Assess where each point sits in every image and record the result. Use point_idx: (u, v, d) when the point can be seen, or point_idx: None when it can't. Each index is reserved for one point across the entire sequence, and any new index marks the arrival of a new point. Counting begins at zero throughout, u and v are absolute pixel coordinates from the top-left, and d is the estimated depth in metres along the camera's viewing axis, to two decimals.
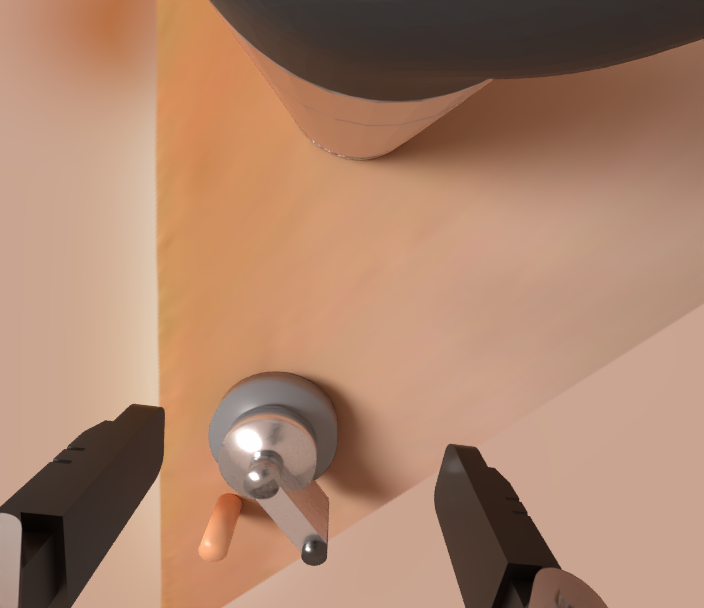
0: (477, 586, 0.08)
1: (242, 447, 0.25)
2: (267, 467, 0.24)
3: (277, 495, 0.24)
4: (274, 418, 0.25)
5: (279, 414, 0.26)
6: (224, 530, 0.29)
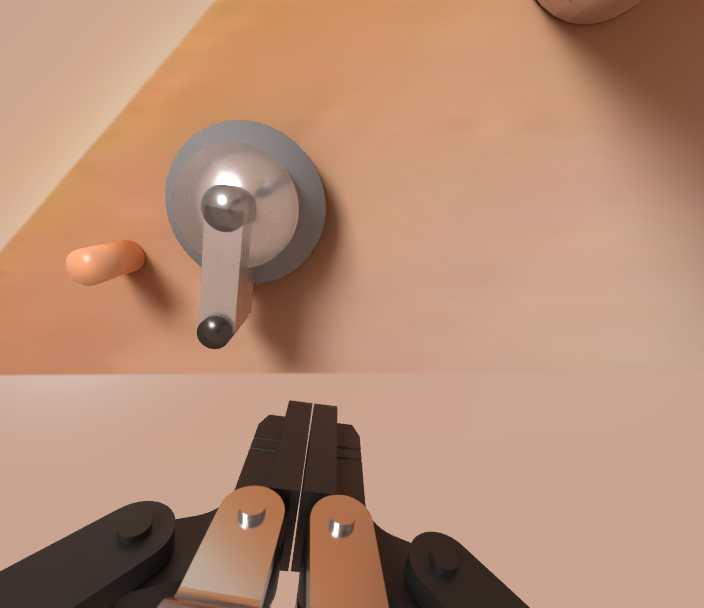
0: (298, 520, 0.08)
1: (224, 168, 0.20)
2: (245, 196, 0.19)
3: (231, 234, 0.19)
4: (281, 167, 0.21)
5: (286, 171, 0.21)
6: (114, 260, 0.22)
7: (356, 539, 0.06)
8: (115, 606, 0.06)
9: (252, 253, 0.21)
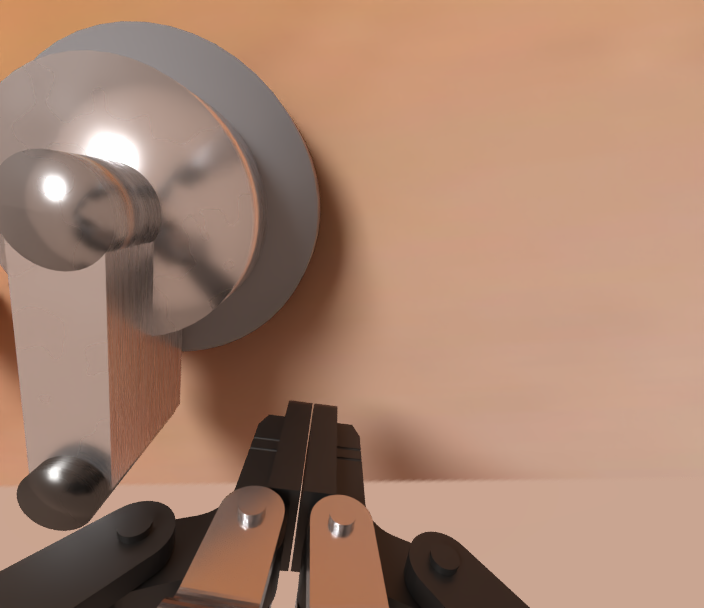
0: (298, 520, 0.08)
1: (79, 117, 0.09)
2: (110, 181, 0.07)
3: (79, 276, 0.08)
4: (215, 117, 0.09)
5: (229, 129, 0.10)
6: None
7: (356, 539, 0.06)
8: (115, 606, 0.06)
9: (159, 307, 0.10)
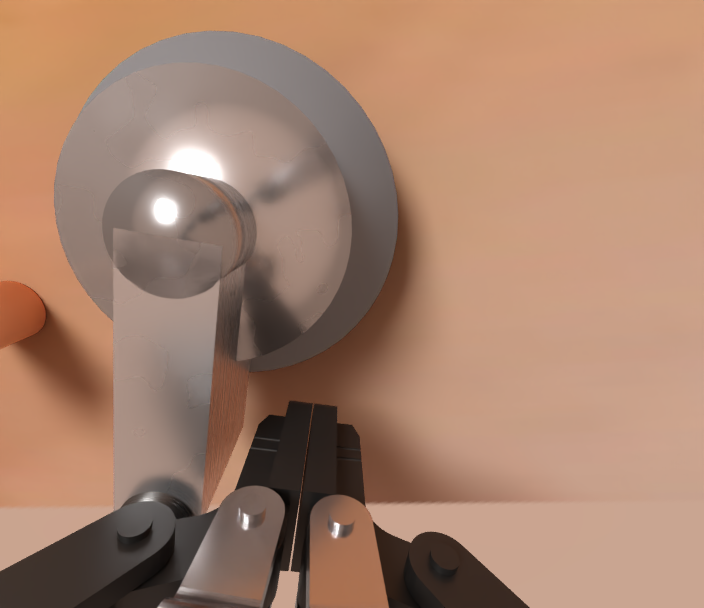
0: (298, 520, 0.08)
1: (179, 132, 0.08)
2: (226, 203, 0.07)
3: (189, 304, 0.07)
4: None
5: None
6: None
7: (356, 539, 0.06)
8: (115, 606, 0.06)
9: (246, 331, 0.09)
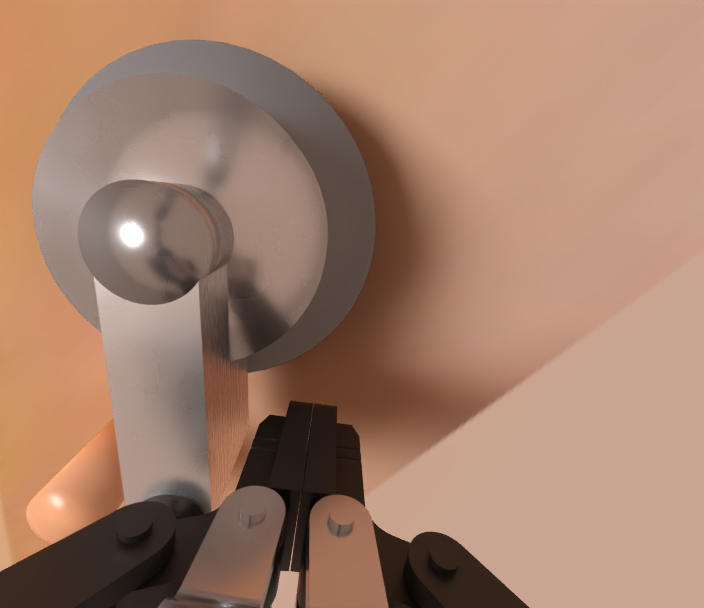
0: None
1: (145, 143, 0.08)
2: (196, 206, 0.07)
3: (172, 308, 0.07)
4: None
5: None
6: (104, 468, 0.12)
7: (356, 539, 0.06)
8: (115, 606, 0.06)
9: (236, 330, 0.10)
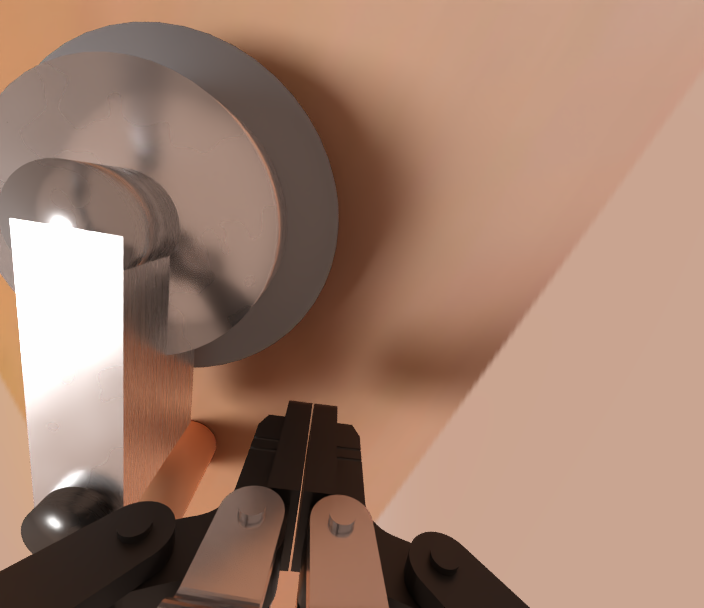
0: (298, 520, 0.08)
1: (93, 123, 0.08)
2: (129, 193, 0.07)
3: (94, 295, 0.07)
4: (238, 124, 0.09)
5: (252, 136, 0.09)
6: (155, 483, 0.12)
7: (356, 539, 0.06)
8: (115, 606, 0.06)
9: (174, 324, 0.09)
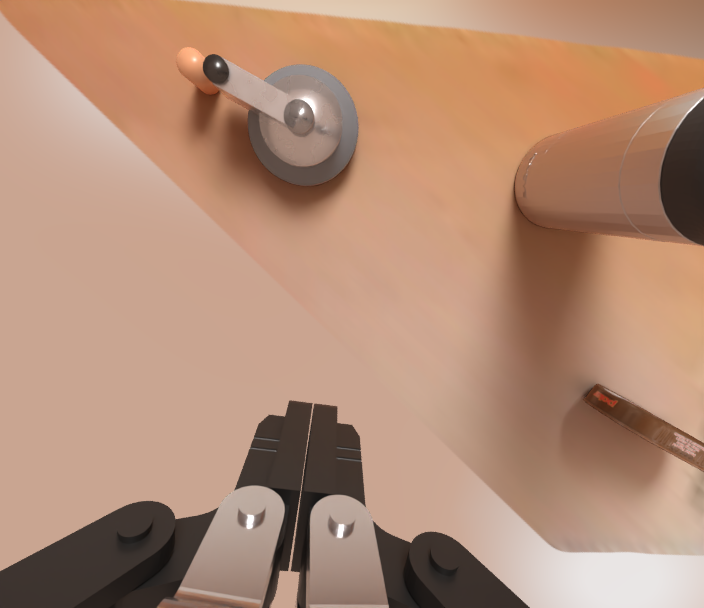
0: (298, 520, 0.08)
1: (326, 125, 0.31)
2: (303, 132, 0.29)
3: (281, 113, 0.28)
4: (318, 162, 0.32)
5: (315, 164, 0.32)
6: None
7: (356, 539, 0.06)
8: (115, 606, 0.06)
9: (268, 120, 0.30)
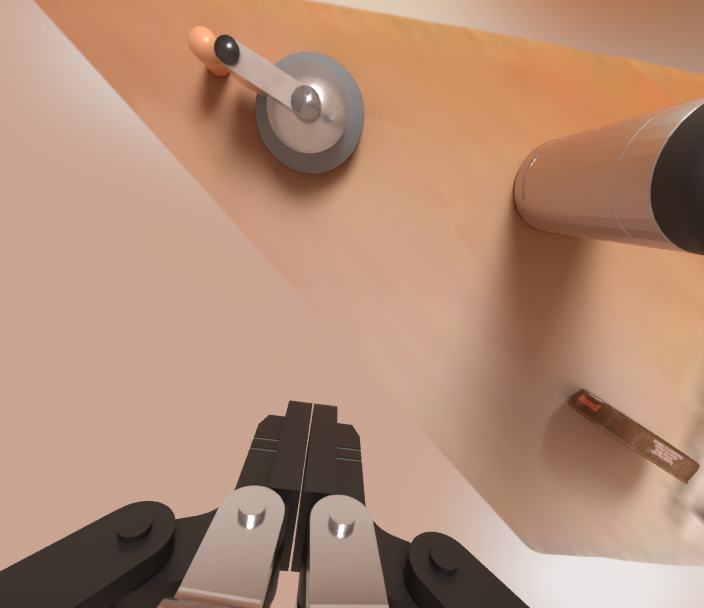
0: (298, 520, 0.08)
1: (332, 113, 0.31)
2: (308, 119, 0.30)
3: (289, 98, 0.29)
4: (322, 150, 0.32)
5: (319, 152, 0.33)
6: None
7: (356, 539, 0.06)
8: (115, 606, 0.06)
9: (275, 104, 0.31)
